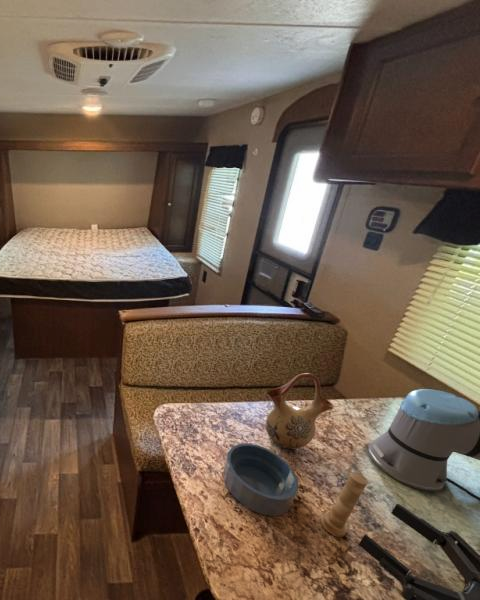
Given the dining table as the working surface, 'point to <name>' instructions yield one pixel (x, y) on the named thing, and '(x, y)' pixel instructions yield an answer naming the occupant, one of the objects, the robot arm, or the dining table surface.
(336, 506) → the wooden pestle
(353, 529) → the dining table surface
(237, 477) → the bowl
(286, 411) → the ceramic vessel
